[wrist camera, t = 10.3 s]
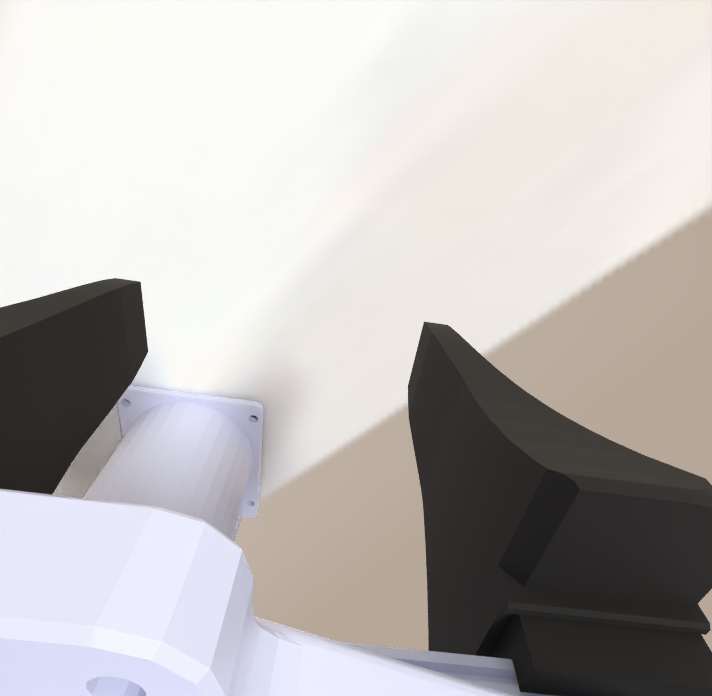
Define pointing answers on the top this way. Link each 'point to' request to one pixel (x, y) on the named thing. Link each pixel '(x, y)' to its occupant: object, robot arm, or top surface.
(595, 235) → the top surface
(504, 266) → the top surface
